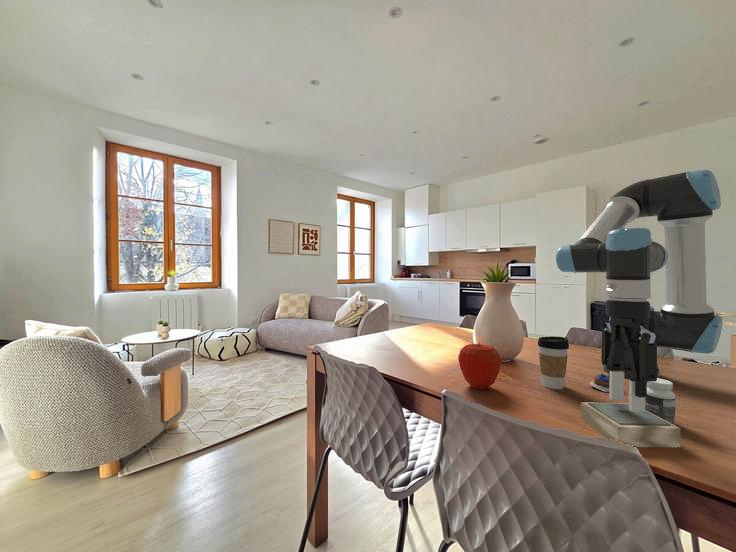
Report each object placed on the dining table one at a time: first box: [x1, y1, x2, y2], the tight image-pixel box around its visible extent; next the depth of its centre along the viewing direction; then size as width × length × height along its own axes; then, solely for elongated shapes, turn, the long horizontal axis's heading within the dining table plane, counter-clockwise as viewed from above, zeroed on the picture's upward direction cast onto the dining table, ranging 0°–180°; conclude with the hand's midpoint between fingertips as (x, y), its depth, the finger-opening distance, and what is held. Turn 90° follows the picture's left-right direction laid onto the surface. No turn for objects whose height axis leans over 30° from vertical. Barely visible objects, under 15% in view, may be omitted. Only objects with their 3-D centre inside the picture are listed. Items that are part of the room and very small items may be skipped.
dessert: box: [589, 372, 609, 393], centre depth 94 cm, size 8×7×6 cm
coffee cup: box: [537, 336, 570, 390], centre depth 97 cm, size 8×8×15 cm
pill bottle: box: [645, 377, 676, 426], centre depth 73 cm, size 6×6×10 cm
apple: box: [457, 341, 502, 391], centre depth 96 cm, size 12×12×14 cm
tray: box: [580, 401, 682, 449], centre depth 69 cm, size 12×12×4 cm
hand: (626, 404), depth 69 cm, fingers open, 5 cm apart
